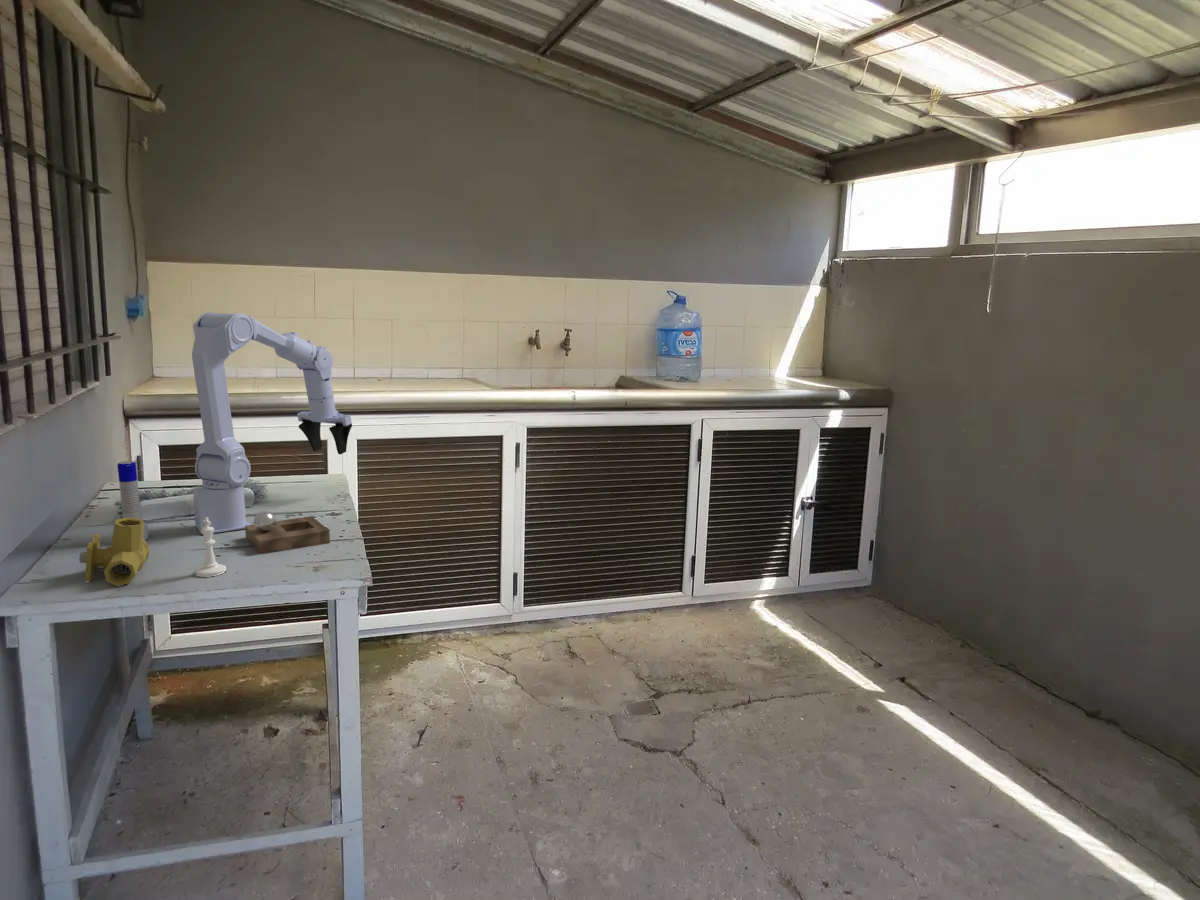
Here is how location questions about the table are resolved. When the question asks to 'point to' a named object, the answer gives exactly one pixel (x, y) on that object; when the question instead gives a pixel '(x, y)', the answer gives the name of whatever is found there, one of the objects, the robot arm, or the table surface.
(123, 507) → the bolt
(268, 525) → the steel ball
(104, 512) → the table surface
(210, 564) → the chess piece
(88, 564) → the ball valve
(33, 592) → the table surface
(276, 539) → the pocket board
